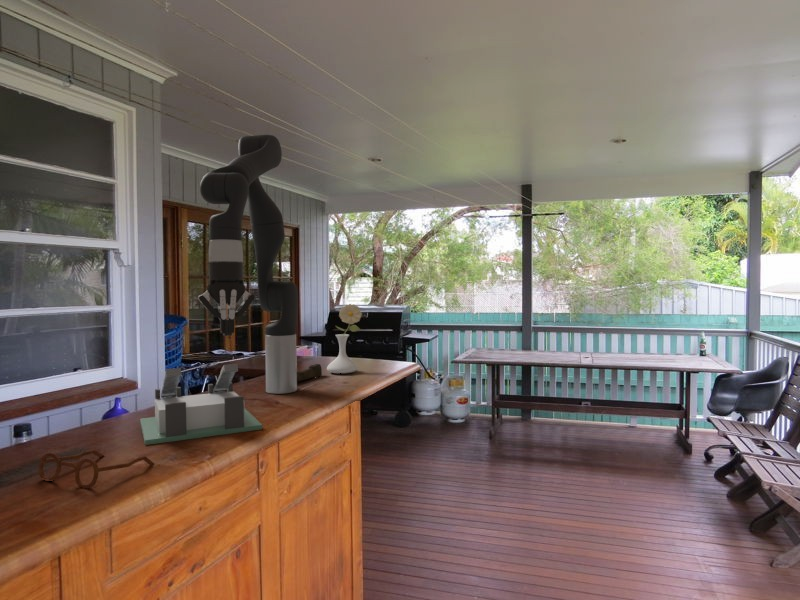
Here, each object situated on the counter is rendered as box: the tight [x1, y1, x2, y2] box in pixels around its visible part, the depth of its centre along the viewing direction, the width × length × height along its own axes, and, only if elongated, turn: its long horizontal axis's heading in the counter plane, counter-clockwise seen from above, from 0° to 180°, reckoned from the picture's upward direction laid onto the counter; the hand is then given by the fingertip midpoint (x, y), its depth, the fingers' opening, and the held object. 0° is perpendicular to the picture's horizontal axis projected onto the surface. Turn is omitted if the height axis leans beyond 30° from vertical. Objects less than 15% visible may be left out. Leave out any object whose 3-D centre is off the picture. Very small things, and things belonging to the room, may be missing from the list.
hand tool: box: [297, 363, 323, 383], centre depth 181 cm, size 19×4×5 cm, turn 152°
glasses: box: [38, 449, 155, 489], centre depth 95 cm, size 13×13×5 cm
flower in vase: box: [326, 303, 363, 374], centre depth 194 cm, size 13×11×25 cm
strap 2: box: [213, 363, 239, 393], centre depth 128 cm, size 16×3×2 cm, turn 28°
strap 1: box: [160, 367, 182, 398], centre depth 122 cm, size 16×3×2 cm, turn 28°
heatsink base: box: [139, 381, 263, 446], centre depth 124 cm, size 20×24×8 cm
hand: (227, 335), depth 124 cm, fingers closed
